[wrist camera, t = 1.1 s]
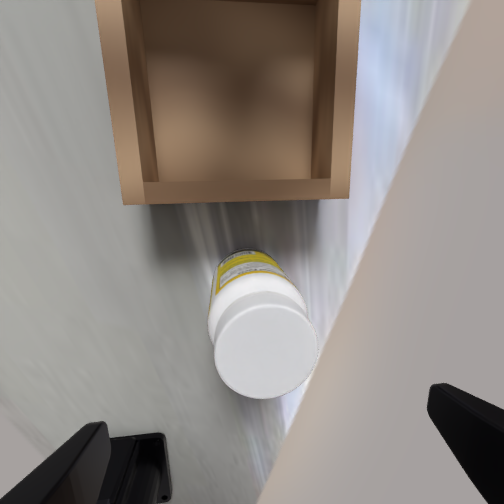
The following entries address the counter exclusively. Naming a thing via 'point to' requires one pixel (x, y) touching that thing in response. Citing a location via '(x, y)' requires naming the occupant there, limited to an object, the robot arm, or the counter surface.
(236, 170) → the walnut box
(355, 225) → the counter surface
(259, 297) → the supplement bottle
